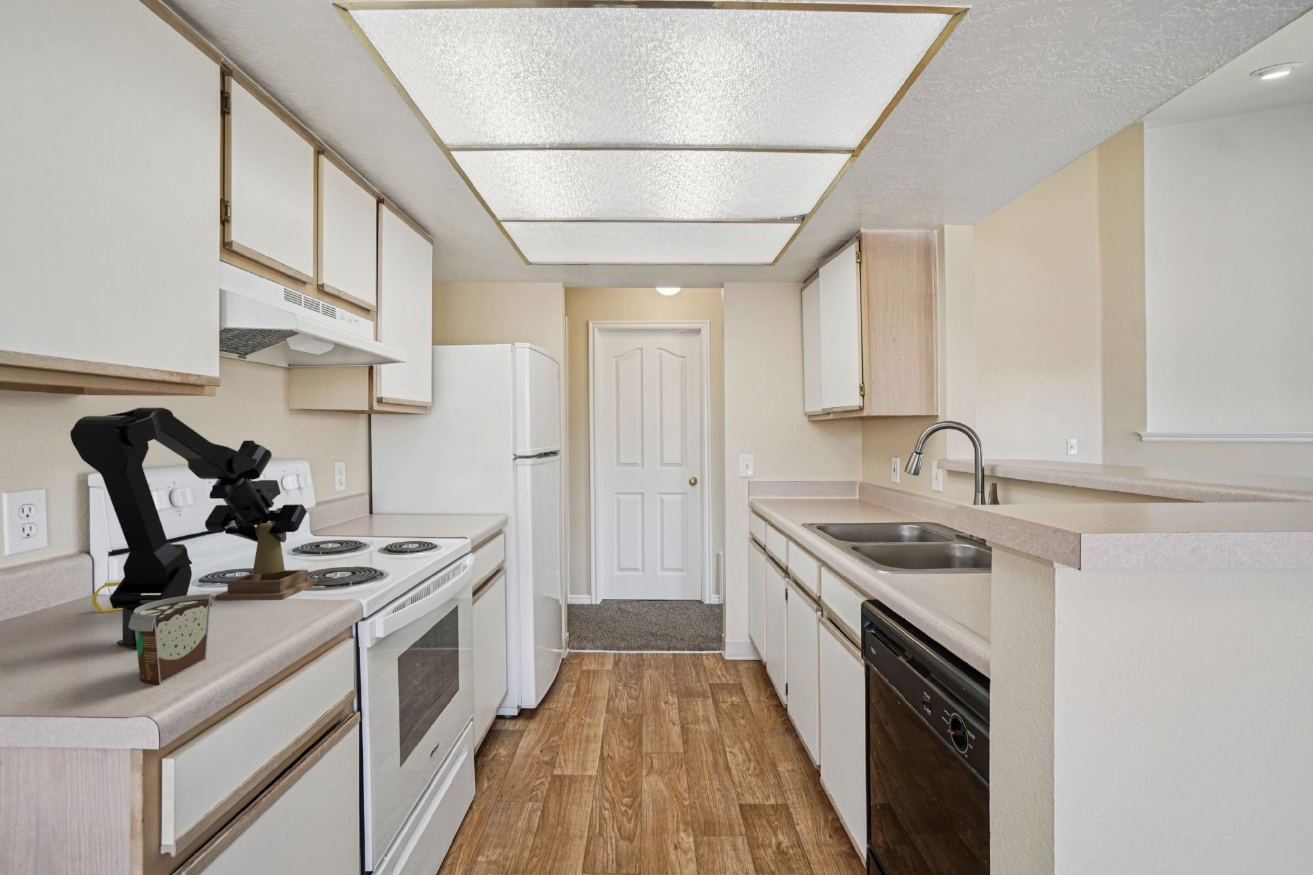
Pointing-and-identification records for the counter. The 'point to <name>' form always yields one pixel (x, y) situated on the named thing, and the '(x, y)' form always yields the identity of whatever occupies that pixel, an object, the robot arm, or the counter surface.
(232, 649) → the counter surface
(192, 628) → the food container
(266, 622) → the counter surface
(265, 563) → the cork
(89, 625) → the counter surface
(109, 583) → the watch
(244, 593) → the stand
